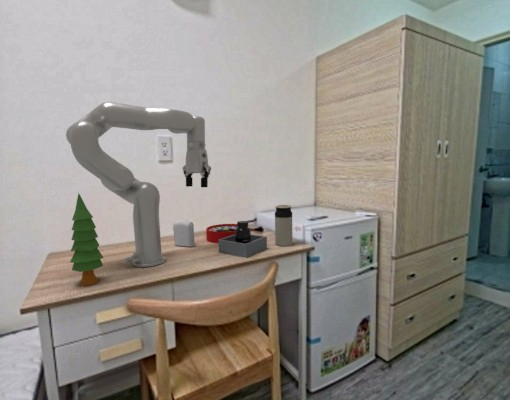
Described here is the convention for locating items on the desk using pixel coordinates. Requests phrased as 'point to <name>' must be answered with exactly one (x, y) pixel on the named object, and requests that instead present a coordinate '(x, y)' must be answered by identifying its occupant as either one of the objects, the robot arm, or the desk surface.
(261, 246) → the box
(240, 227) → the supplement bottle
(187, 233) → the photo printer
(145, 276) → the desk surface
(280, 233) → the travel mug
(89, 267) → the decorative tree
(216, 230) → the toy clock
